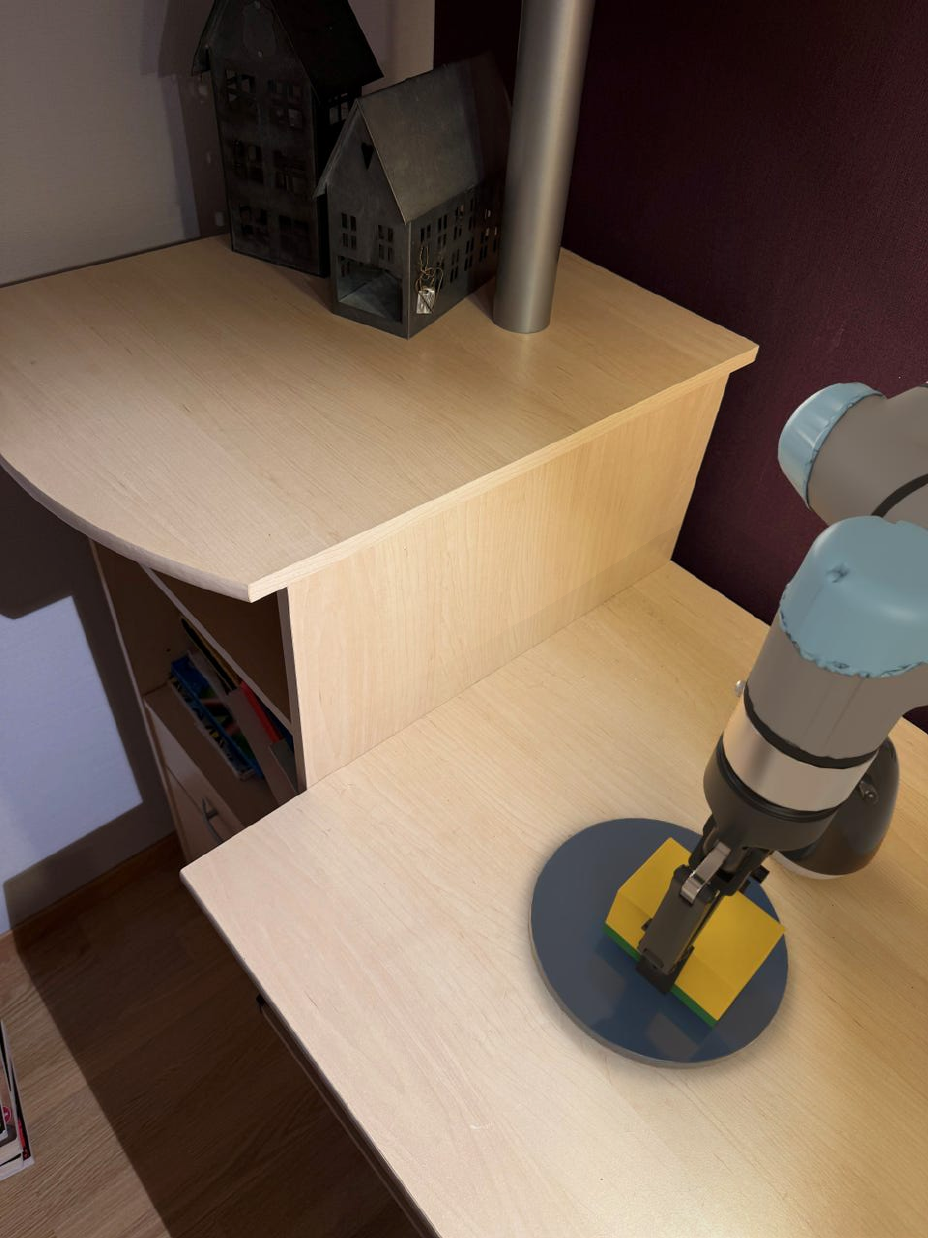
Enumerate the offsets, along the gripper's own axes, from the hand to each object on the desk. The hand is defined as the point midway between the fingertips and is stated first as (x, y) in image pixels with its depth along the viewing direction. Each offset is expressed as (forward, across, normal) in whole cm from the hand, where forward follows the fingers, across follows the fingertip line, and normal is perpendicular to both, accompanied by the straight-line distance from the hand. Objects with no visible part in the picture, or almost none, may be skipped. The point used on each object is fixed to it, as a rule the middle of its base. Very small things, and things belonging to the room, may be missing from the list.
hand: (681, 946), depth 68 cm
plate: (+3, -1, -2) cm, 3 cm away
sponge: (0, 0, 0) cm, 0 cm away
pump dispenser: (+3, -17, +2) cm, 17 cm away
